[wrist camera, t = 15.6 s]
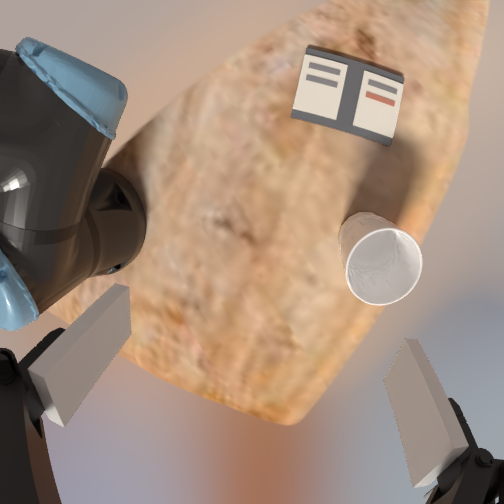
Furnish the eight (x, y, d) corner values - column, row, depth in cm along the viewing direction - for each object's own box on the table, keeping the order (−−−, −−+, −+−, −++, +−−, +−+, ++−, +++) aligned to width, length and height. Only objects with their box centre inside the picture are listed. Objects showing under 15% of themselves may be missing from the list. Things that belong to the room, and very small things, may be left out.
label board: (290, 117, 33) (290, 116, 31) (306, 49, 29) (306, 46, 28) (388, 146, 32) (391, 146, 31) (402, 79, 29) (405, 77, 28)
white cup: (347, 277, 38) (362, 317, 29) (322, 223, 36) (332, 250, 27) (401, 251, 36) (430, 284, 27) (379, 195, 34) (408, 213, 25)
